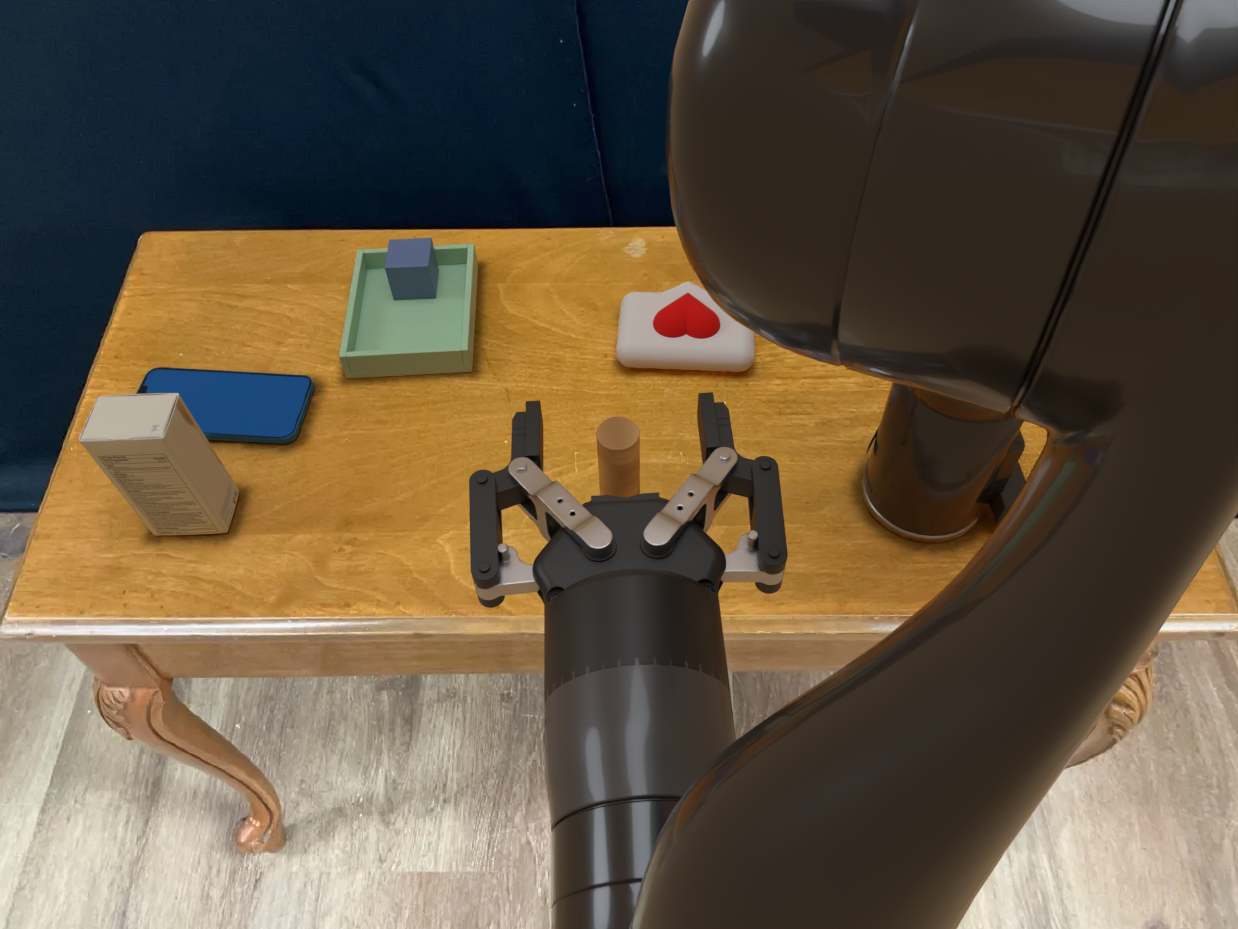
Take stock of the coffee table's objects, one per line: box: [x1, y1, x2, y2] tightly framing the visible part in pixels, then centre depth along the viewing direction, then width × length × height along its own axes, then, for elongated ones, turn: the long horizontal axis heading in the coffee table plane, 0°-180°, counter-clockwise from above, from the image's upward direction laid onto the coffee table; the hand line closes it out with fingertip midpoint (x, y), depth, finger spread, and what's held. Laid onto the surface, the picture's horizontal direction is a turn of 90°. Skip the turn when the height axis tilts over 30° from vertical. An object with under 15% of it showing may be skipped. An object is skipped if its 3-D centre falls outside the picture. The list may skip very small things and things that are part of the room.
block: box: [385, 237, 439, 300], centre depth 91 cm, size 4×4×4 cm
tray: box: [338, 243, 479, 379], centre depth 89 cm, size 11×14×3 cm
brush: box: [595, 416, 641, 498], centre depth 68 cm, size 6×3×15 cm, turn 92°
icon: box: [615, 280, 756, 373], centre depth 87 cm, size 12×4×10 cm
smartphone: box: [135, 366, 315, 445], centre depth 84 cm, size 7×1×15 cm
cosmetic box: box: [77, 393, 240, 536], centre depth 73 cm, size 6×4×12 cm
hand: (619, 407), depth 49 cm, fingers open, 8 cm apart
